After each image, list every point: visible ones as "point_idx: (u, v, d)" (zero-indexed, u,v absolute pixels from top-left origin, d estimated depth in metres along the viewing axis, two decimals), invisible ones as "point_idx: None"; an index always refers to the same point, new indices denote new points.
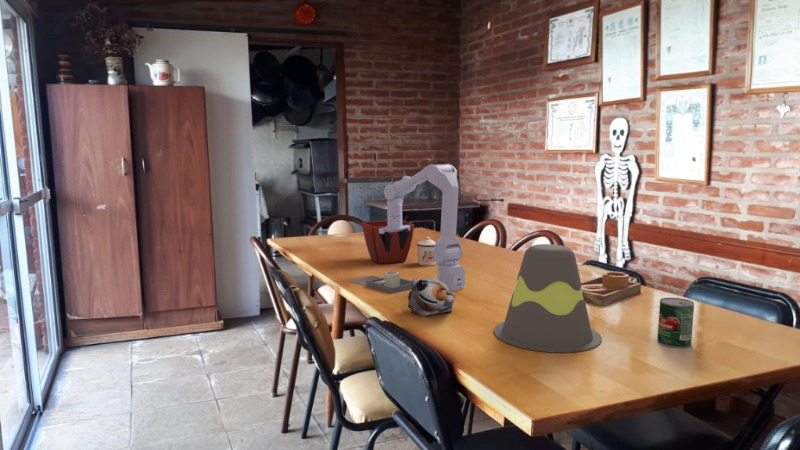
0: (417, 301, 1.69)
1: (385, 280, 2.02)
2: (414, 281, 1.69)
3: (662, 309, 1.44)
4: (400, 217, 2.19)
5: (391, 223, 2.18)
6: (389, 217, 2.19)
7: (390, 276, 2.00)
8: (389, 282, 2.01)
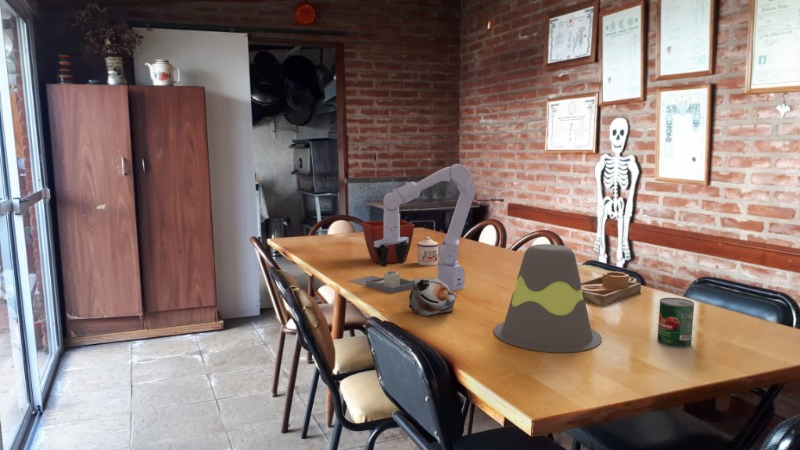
0: (418, 301, 1.70)
1: (385, 280, 2.02)
2: (415, 281, 1.69)
3: (662, 309, 1.44)
4: (397, 229, 1.99)
5: (388, 236, 1.98)
6: (385, 229, 1.98)
7: (390, 276, 2.00)
8: (389, 282, 2.01)
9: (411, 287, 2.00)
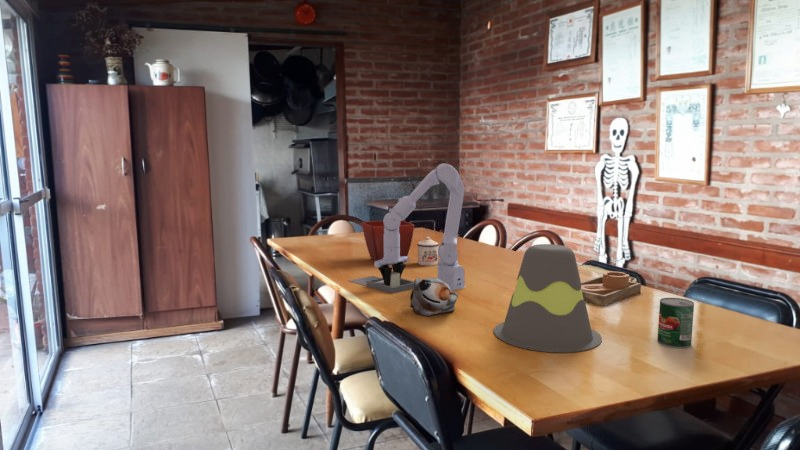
0: (420, 301, 1.70)
1: None
2: (417, 281, 1.69)
3: (662, 309, 1.44)
4: (397, 249, 2.00)
5: (388, 256, 1.99)
6: (385, 249, 1.99)
7: (390, 276, 2.00)
8: None
9: (411, 287, 2.00)
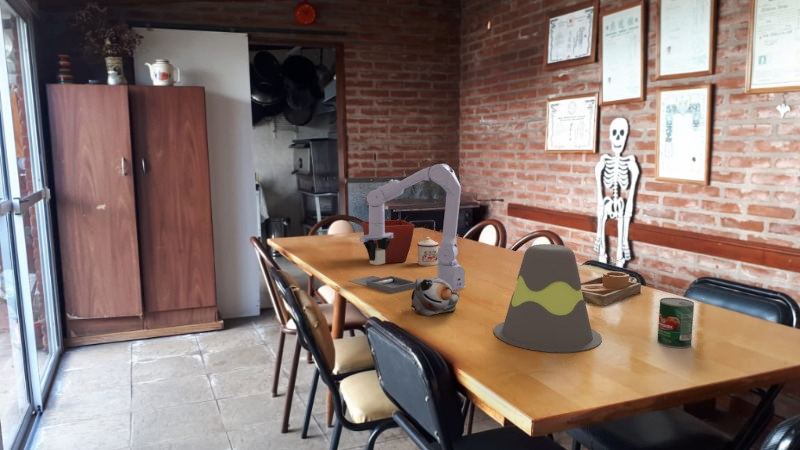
0: (421, 301, 1.70)
1: None
2: (418, 281, 1.69)
3: (662, 309, 1.44)
4: (382, 224, 2.06)
5: (373, 231, 2.05)
6: (370, 224, 2.05)
7: (375, 252, 2.06)
8: (375, 258, 2.07)
9: (411, 287, 2.00)
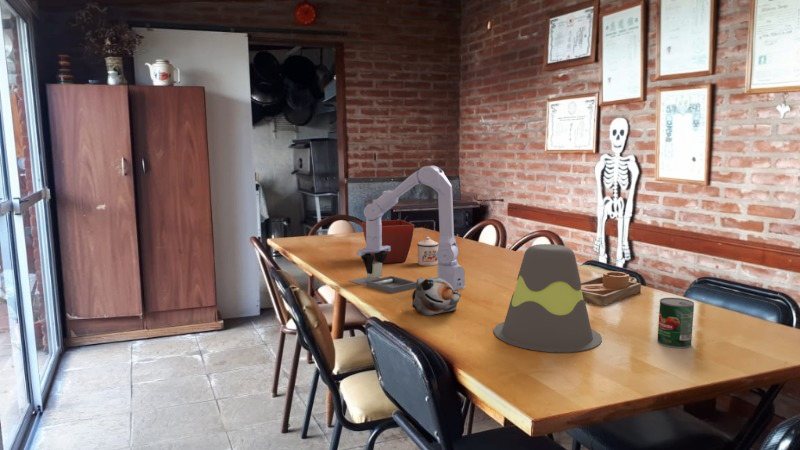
0: (422, 301, 1.70)
1: None
2: (419, 281, 1.69)
3: (662, 309, 1.44)
4: (379, 238, 2.08)
5: (370, 245, 2.07)
6: (368, 238, 2.08)
7: (373, 266, 2.08)
8: (372, 271, 2.09)
9: (411, 287, 2.00)
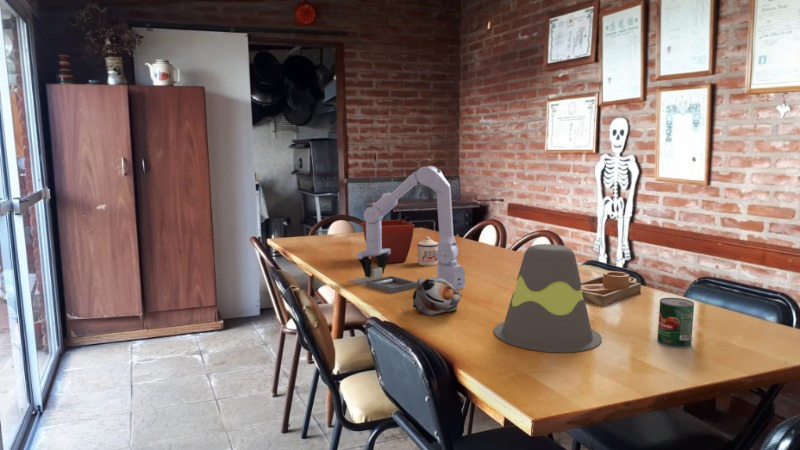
0: (423, 300, 1.70)
1: None
2: (420, 281, 1.70)
3: (662, 309, 1.44)
4: (379, 241, 2.08)
5: (370, 248, 2.08)
6: (368, 241, 2.08)
7: (373, 270, 2.09)
8: (372, 276, 2.09)
9: (411, 287, 2.00)
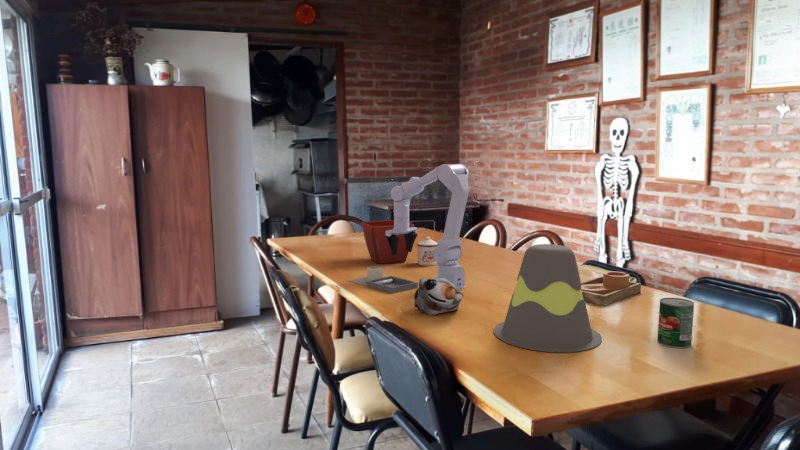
0: (425, 300, 1.70)
1: (368, 274, 2.11)
2: (422, 280, 1.70)
3: (662, 309, 1.44)
4: (407, 219, 2.14)
5: (398, 226, 2.13)
6: (396, 219, 2.13)
7: (373, 270, 2.09)
8: (372, 276, 2.09)
9: (411, 287, 2.00)
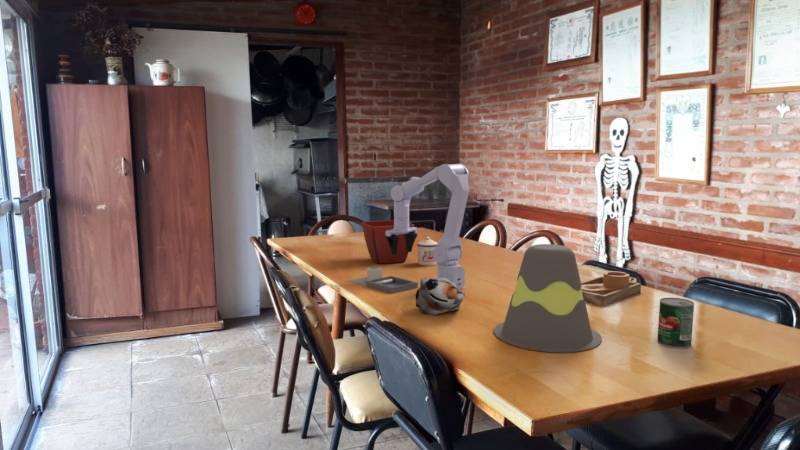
0: (427, 300, 1.70)
1: (368, 274, 2.11)
2: (423, 280, 1.70)
3: (662, 309, 1.44)
4: (407, 219, 2.14)
5: (398, 226, 2.13)
6: (396, 219, 2.13)
7: (373, 270, 2.09)
8: (372, 276, 2.09)
9: (411, 287, 2.00)
